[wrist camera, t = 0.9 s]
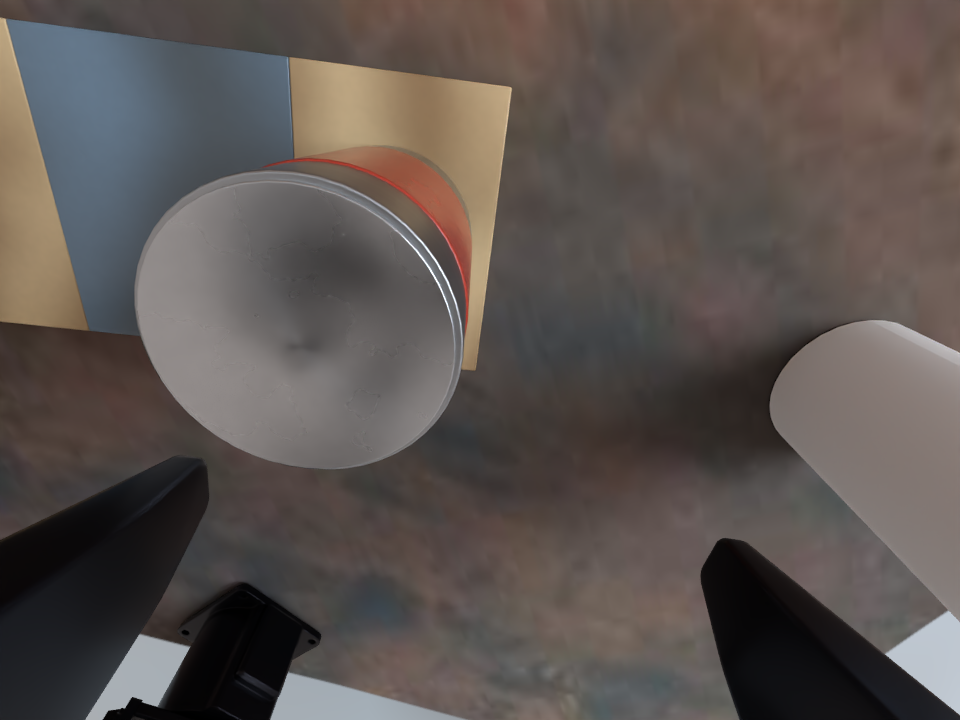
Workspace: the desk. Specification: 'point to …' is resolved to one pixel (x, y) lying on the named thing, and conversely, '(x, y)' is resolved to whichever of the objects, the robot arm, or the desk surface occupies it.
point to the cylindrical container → (884, 438)
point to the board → (194, 152)
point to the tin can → (312, 304)
